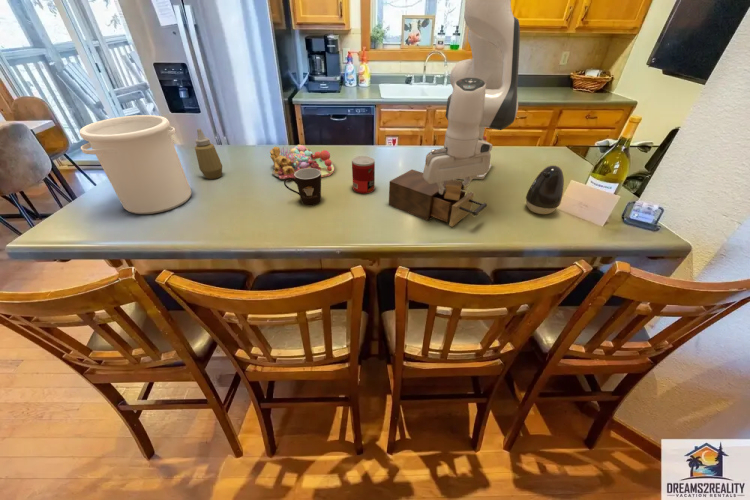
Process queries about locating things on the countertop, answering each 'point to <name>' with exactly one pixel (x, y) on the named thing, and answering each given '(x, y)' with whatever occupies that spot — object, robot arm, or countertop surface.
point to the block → (453, 189)
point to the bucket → (139, 161)
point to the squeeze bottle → (207, 157)
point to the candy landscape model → (300, 161)
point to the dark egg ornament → (546, 191)
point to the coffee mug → (307, 185)
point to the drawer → (454, 207)
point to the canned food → (363, 174)
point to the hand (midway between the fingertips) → (452, 191)
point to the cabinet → (413, 194)
